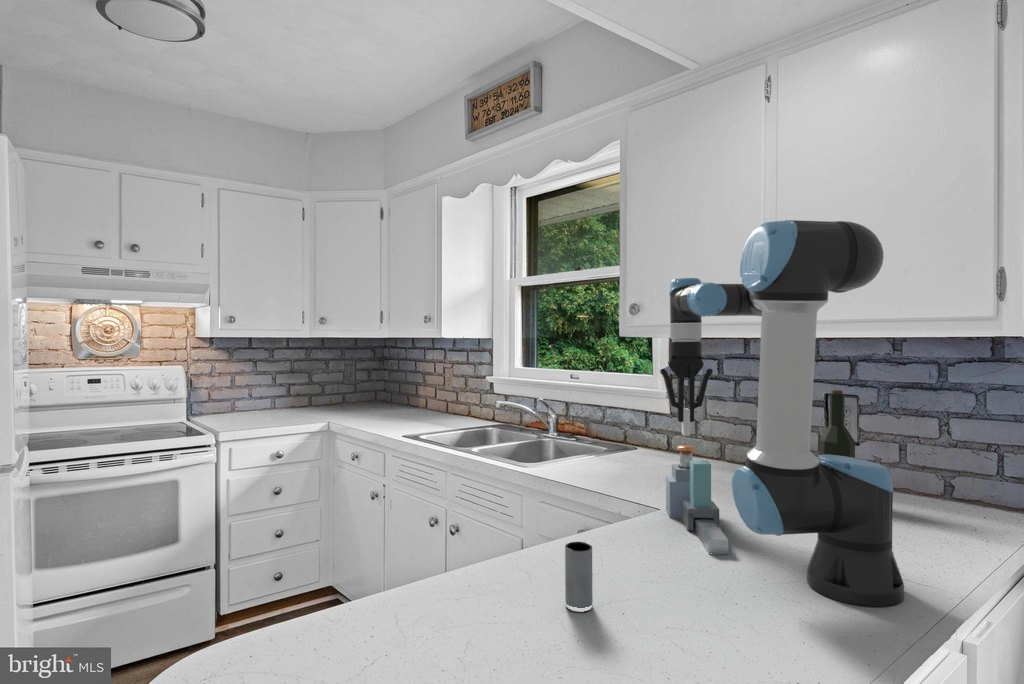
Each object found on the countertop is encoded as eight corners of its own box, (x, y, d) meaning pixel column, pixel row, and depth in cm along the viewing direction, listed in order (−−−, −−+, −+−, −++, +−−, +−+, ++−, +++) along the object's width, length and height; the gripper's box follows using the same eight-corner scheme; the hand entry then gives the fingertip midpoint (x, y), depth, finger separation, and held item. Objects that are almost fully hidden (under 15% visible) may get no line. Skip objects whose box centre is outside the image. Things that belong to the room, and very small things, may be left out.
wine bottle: (818, 505, 160) (819, 391, 159) (819, 497, 167) (819, 388, 167) (855, 509, 156) (855, 392, 155) (854, 501, 163) (854, 389, 163)
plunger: (696, 480, 150) (696, 448, 150) (678, 479, 151) (678, 448, 150) (693, 475, 155) (693, 445, 154) (675, 475, 155) (675, 444, 155)
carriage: (719, 531, 139) (719, 465, 139) (688, 530, 140) (687, 465, 140) (712, 521, 146) (712, 459, 146) (682, 520, 147) (682, 458, 147)
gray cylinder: (575, 598, 106) (574, 539, 106) (597, 605, 103) (597, 545, 103) (560, 607, 102) (559, 547, 102) (583, 615, 99) (582, 553, 99)
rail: (728, 554, 126) (728, 540, 125) (708, 554, 126) (708, 539, 126) (704, 519, 148) (704, 507, 148) (687, 519, 149) (687, 507, 149)
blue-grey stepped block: (707, 518, 149) (707, 470, 149) (669, 518, 150) (669, 469, 150) (702, 511, 155) (701, 464, 155) (666, 510, 156) (665, 464, 156)
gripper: (709, 340, 155) (709, 432, 156) (657, 340, 156) (657, 432, 157) (716, 340, 148) (716, 437, 148) (661, 341, 149) (661, 437, 149)
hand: (685, 434), depth 152 cm, fingers closed
